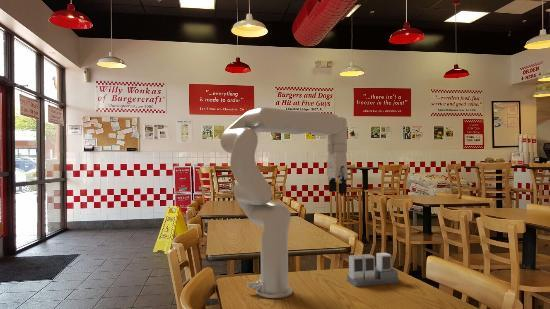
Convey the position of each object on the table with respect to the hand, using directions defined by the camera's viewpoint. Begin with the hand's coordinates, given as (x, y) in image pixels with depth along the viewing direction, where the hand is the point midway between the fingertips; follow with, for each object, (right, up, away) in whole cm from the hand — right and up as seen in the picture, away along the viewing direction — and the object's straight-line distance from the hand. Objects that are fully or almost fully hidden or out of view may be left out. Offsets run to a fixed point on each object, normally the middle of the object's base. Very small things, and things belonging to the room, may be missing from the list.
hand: (337, 192), depth 158 cm
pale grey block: (+17, -31, -4) cm, 36 cm away
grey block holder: (+12, -33, -5) cm, 36 cm away
